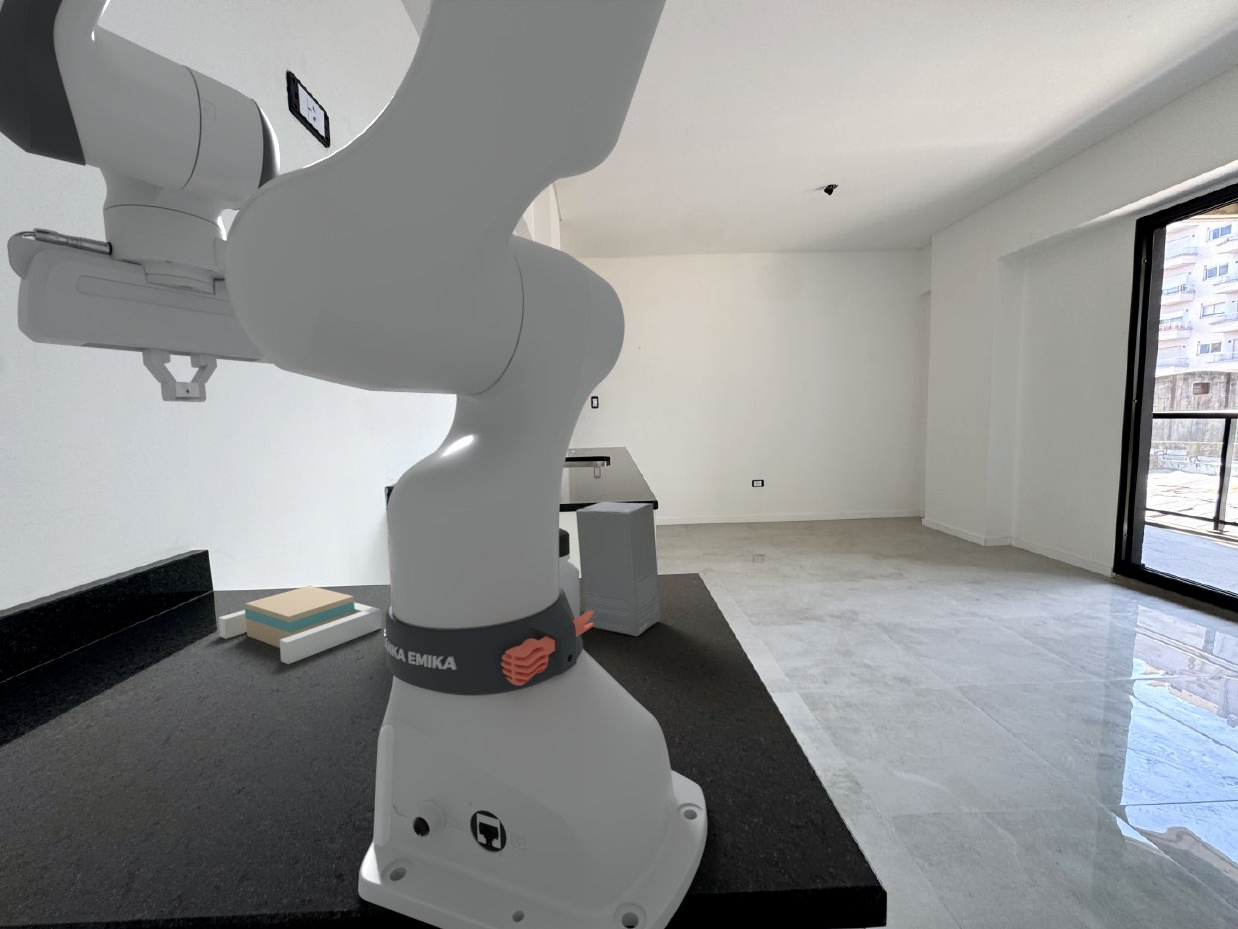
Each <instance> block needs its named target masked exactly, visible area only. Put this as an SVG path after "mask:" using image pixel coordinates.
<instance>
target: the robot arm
mask: <svg viewBox="0 0 1238 929" xmlns="http://www.w3.org/2000/svg"><path fill="white" fill-rule="evenodd" d="M110 2H111V0H0V133H1V134H2V135H3V136H5V137H6V138H7V139H8V140H10V141H11V142H12V143H13V144H14V145H16V146H17V147H18V148H20V149H21V150H22V151H24V152H25V153H27V154H31V155H36V156H41V157H43V158H44V157H45V158H50V159H54V160H58V161H61V162H66V163H71V164H75V165H79V166H84V167H86V166H91V167H94V168H97V169H99V170H100V172H101V175H102V176H103V179H104V183H105V186H106V196H105V200H104V202H103V207H102V214H103V225H104V234H105V241H102V240H96V239H92V238H87V237H83V236H74V235H69V234H63V233H59V232H58V231H55V230H51V229H47V228H39V227H34V228H33V230H23V231H18V232H16V233H14V234H12V235H11V236H10V237H9V239H8V241H7V248H6V249H7V257H8V263H9V266H10V267H11V269H12V271H13V272H14V273H15V274H16V275H17V276H18V277H19V278H20V282H19V287H18V294H17V295H18V297H17V325H18V326H17V327H18V329H19V331H20V332H21V333H23V334H22V335H25V337H27V338H28V339H29V340H30V341H32V342H34V343H37V344H48V345H60V346H67V347H68V346H69V347H82V348H93V349H103V350H112V351H113V350H114V351H116V350H117V351H124V352H126V351H127V352H136V353H141V354H142V364H143V366H144V367H145V369H147V370H148V371H149V372H150V374H151V375H152V377H153V378H154V379H155V380H156V381H157V382H158V383H160V389H161V398H162V402H163V401H164V402H182V403H183V402H187V403H203V402H206V400H207V392H206V384H207V383H208V381H209V379H211V376H212V375H213V373H215V371H216V369H217V367H218V363H217V360H222V361H223V360H227V361H237V362H249V363H258V364H267V365H268V364H269V365H270V364H272V365H274V366H276V367H277V368H278V369H280V370H283V371H285V372H289V373H293V374H297V375H301V376H304V377H310V378H314V379H317V380H321V381H325V382H327V383H328V382H329V383H332V384H338V385H343V386H347V387H352V388H357V389H359V390H360V389H361V390H365V391H369V392H389V393H390V392H392V393H393V392H394V393H410V394H411V393H415V394H417V393H418V394H419V393H420V394H438V395H439V394H443V395H456V402H455V403H456V404H455V409H454V417H453V421H452V424H451V426H450V428H449V431H448V433H447V435H446V437H445V438H444V440H443V441H442V443H440V445H439V446H438V448H437V449H436V450H435V451H433V452H432V453H430V454H429V455H427V456H425V457H424V458H421V459H420V460H419V461H418V462H415V464H413V465H412V466H410V467H409V468H408V469H407V470H406V471H404V473H403V474H402V475H401V476H400V477H399V478H398V480H397V481H396V483H395V484H394V486H393V488H392V491H391V492H390V496H389V499H388V500H387V501H388V502H387V507H386V516H387V517H386V519H387V542H388V541H389V551H388V561H389V560H390V567H389V579H391V583H390V596H391V598H392V599H391V604H390V605H389V606H388V608H387V609H386V612H385V628H384V629H383V630H384V631H383V643H384V645H383V646H384V649H385V650H386V652H385V653H386V666H387V669H388V671H389V672H390V673H391V674H392V675H393V676H392V677H393V678H392V684H391V685H392V687H391V689H390V694H389V699H388V704H387V706H386V710H385V714H384V716H383V721H382V724H381V726H380V730H379V732H378V733H379V735H378V738H377V751H376V752H377V754H376V772H375V791H374V792H375V793H374V794H375V795H374V796H375V797H374V820H373V836H372V841H371V843H370V845H369V847H368V849H367V851H366V853H365V855H364V857H363V860H362V862H361V864H360V866H359V867H360V868H359V872H358V886H357V887H358V888H357V892H358V895H359V897H360V898H361V899H363V900H364V901H367V902H369V903H372V904H374V905H377V906H379V907H383V908H385V909H388V910H391V911H394V912H396V913H399V914H401V915H405V916H407V917H410V918H413V919H415V920H417V921H421V922H424V923H426V924H429V925H432V926H435V927H436V928H440V929H629V928H628V927H629V926H632V927H633V928H631V929H665V928H666V927H667V926H668V924H669V922H670V921H671V919H672V918H673V917H674V915H675V913H676V912H677V910H678V909H679V908H680V905H681V903H682V902H683V900H684V898H685V896H686V894H687V892H688V890H689V888H690V887H691V885H692V882H693V880H694V878H695V875H696V873H697V871H698V869H699V866H700V864H701V859H702V857H703V853H704V850H705V846H706V841H707V836H708V813H707V807H706V805H707V804H706V800H705V796H704V793H703V789H702V788H701V786H700V785H699V784H697V783H696V782H694V781H693V780H692V779H689V778H687V777H686V776H684V775H682V774H680V773H678V772H677V771H675V770H672V767H671V763H670V762H671V761H670V757H669V751H668V750H669V749H668V746H667V743H666V740H665V736H664V732H663V730H662V727H661V726H660V723H659V721H658V720H657V719H656V717H655V716H654V715H653V714H652V713H650V711H649V710H647V709H646V708H645V707H644V706H643V705H642V704H641V703H640V702H639V701H638V700H637V699H636V698H635V697H633V696H632V695H631V693H629V692H628V691H627V690H626V689H625V688H624V687H623V686H622V685H621V684H620V683H619V682H618V681H617V680H616V679H615V678H614V677H613V676H612V675H611V674H610V673H608V671H607V670H606V669H605V668H604V667H602V666H601V665H600V664H599V662H597V661H596V659H594V658H593V657H592V656H591V655H590V654H589V653H588V652H587V651H586V650H585V649H584V641H583V638H582V634H584V633H585V632H587V631H588V630H590V629H591V628H593V627H592V626H593V625H594V623H589V624H587V625H585V623H586V622H588V621H589V620H590V618H591V617H592V615H593V614H594V611H592V610H590V611H588V612H586V613H585V614H584V613H583V614H580V616H579V617H578V618H576V619H575V618H574V615H573V613H572V610H571V607H570V605H569V602H568V600H567V597H566V595H565V593H564V591H563V590H562V589H561V587H560V583H559V528H560V506H561V505H560V503H561V502H560V499H561V498H560V497H561V489H562V488H561V487H562V486H561V485H562V478H563V473H564V467H565V463H566V457H567V455H568V454H567V453H568V451H569V447H570V443H571V440H572V437H573V434H574V431H575V427H576V426H577V422H578V420H579V418H580V415H581V413H582V411H583V409H584V406H585V404H586V402H587V401H588V399H589V397H590V396H591V394H592V393H593V392H594V390H595V389H596V388H597V387H598V386H599V384H600V383H602V382H603V380H605V379H606V378H607V377H608V376H609V375H610V373H611V371H612V370H613V369H614V368H615V365H616V364H617V362H618V360H619V357H620V355H621V353H622V348H623V344H624V340H625V332H626V331H625V327H626V325H625V324H626V323H625V321H626V320H625V315H624V309H623V306H622V303H621V302H622V301H621V299H620V297H619V295H618V293H617V292H616V290H615V289H614V287H613V286H612V285H611V284H610V283H609V282H608V281H607V280H606V279H604V278H603V276H601V275H600V274H598V273H596V272H595V271H594V270H592V269H591V268H590V267H588V266H587V265H585V264H584V263H582V262H581V261H579V260H578V259H576V258H575V257H573V256H572V255H570V254H568V253H567V252H565V251H563V250H559V249H558V248H554V247H552V246H549V245H547V244H543V243H541V242H538V241H535V240H531V239H530V238H526V237H523V236H521V235H517V234H514V231H515V229H516V227H517V226H518V223H519V222H520V220H521V218H522V217H523V215H524V214H525V212H526V211H527V209H528V208H529V206H530V205H531V204H532V203H533V202H534V201H535V199H536V198H537V197H538V196H540V194H541V193H542V192H543V191H544V190H545V189H546V188H548V187H549V186H551V185H552V184H554V183H555V182H556V181H558V180H561V179H565V178H572V177H576V176H579V175H583V174H586V173H588V172H590V171H593V170H595V169H596V168H597V167H599V166H600V165H601V164H602V163H604V162H605V161H606V159H607V158H608V157H609V156H610V155H611V153H612V152H613V150H615V147H616V145H617V143H618V142H619V139H620V135H621V133H622V129H623V126H624V123H625V120H626V118H627V115H628V112H629V110H630V106H631V103H632V101H633V98H634V94H635V91H636V88H637V86H638V83H639V80H640V77H641V74H642V71H643V69H644V65H645V63H646V60H647V57H648V53H649V51H650V48H651V46H652V43H653V41H654V40H653V39H654V37H655V34H656V31H657V29H658V28H657V27H658V25H659V22H660V19H661V16H662V14H663V11H664V8H665V5H666V2H667V0H430V1H429V6H428V9H427V13H426V17H425V19H424V20H425V21H424V24H423V28H422V31H421V34H420V38H419V42H418V44H417V47H416V50H415V54H414V55H413V59H411V60H412V61H411V62H410V65H409V68H408V69H407V71H406V73H405V74H404V77H403V79H402V81H401V83H400V85H399V87H398V88H397V90H396V91H395V93H394V94H393V95H392V97H391V99H390V100H389V101H388V103H387V104H386V105H385V107H384V108H383V109H382V111H380V113H379V114H378V116H377V117H376V118H375V119H374V120H373V121H371V123H370V124H369V125H368V126H367V127H366V128H365V129H364V130H363V131H362V132H361V133H360V134H358V135H357V136H356V137H355V138H354V139H352V140H351V141H350V142H349V143H348V144H347V145H345V146H342V147H341V148H340V149H338V150H336V151H335V152H334V153H332V154H331V155H329V156H326V157H324V158H322V159H320V160H317V161H316V162H314V163H312V164H309V165H306V166H303V167H300V168H298V169H294V170H291V171H288V172H285V173H282V174H280V172H281V171H280V170H281V169H280V168H281V163H280V161H281V158H280V147H279V143H278V139H277V136H276V134H275V132H274V129H273V127H272V124H271V123H270V121H269V118H268V117H267V115H266V114H265V112H264V111H263V109H262V108H261V106H260V105H259V104H258V103H257V102H256V101H255V99H253V98H251V97H249V96H247V95H245V94H244V93H242V92H240V91H239V90H237V89H236V88H233V87H231V86H229V85H227V84H226V83H223V82H221V81H219V80H217V79H215V78H213V77H210V76H209V75H206V74H204V73H202V72H199V71H198V70H195V69H194V68H191V67H189V66H187V65H184V64H180V63H178V62H176V61H174V60H172V59H169V58H167V57H165V56H163V55H161V54H159V53H157V52H154V51H153V50H150V49H148V48H146V47H144V46H142V45H139V44H137V43H135V42H133V41H131V40H128V39H127V38H125V37H122V36H120V35H118V34H116V33H114V32H112V31H109V30H108V29H106V28H104V27H102V26H100V25H99V24H98V23H99V21H100V20H101V18H102V17H103V14H104V13H105V11H106V9H107V7H108V5H109V3H110ZM225 210H232V211H237V213H236V215H235V216H234V219H233V221H232V223H231V225H230V228H229V230H228V233H226V229H225V227H224V224H223V221H222V214H223V212H224V211H225ZM28 237H29V238H28ZM30 237H31V238H30ZM171 356H180V357H189V358H190V366H191V368H193V369H197V368H198V369H197V370H196V372H195V374H194V375H193V377H192V378H191V380H190V382H188V381H177V380H176V379H175V376H174V375H173V374H172V372H171V371H170V370H169V368H168V367H167V366H166V365H165V364H169V363H171ZM627 926H628V927H627Z"/></svg>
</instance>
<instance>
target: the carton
mask: <svg viewBox="0 0 1238 929" xmlns="http://www.w3.org/2000/svg"><path fill="white" fill-rule="evenodd" d="M354 602H355V601H354V595H350V594H346V593H345V594H344V593H341V592H337V591H333V590H328V589H325V588H322V587H321V588H320V587H318V586H313V585H307V586H303V587H300V588H295V589H293V590H289V591H286V592H281V593H278V594H274V595H271V596H267V597H263V598H259V599H257V600H253V601H249V602H245V606H244V607H245V608H244V610H245V617H246V621H247V632H246V635H247V637H250V638H253V639H255V640H258V641H260V642H263V643H265V644H268V645H272V646H274V647H276V648H279V649H280V640H281V639H284V638H286V637H289V636H292V635H295V634H298V633H301V632H304V631H307V630H310V629H312V628H315V627H318V626H321V625H324V624H327V623H330V622H333V621H335V620H338V619H341V618H344V617H347V616H350V615H353V614H354V610H355V607H354Z"/></svg>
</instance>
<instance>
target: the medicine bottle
mask: <svg viewBox="0 0 1238 929" xmlns="http://www.w3.org/2000/svg"><path fill="white" fill-rule="evenodd" d="M570 547H571V546H570V533H569V532H568V531H567V530H565V529H563V528H560V527H559V583H560V587H561V589H562V590H563V591H564V593H565V595H566V597H567V600H568V602H569V605H570V607H571V610H572V613H573V615H574V618H575V619H576V618H578V617H579V616H581V599H580V598H581V595H580V594H581V592H580V591H581V590H580V570H579V569H578V567H577V566H576V565H575V564H574V563H573V562H572V561H571V560H570V558H571V549H570Z"/></svg>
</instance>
